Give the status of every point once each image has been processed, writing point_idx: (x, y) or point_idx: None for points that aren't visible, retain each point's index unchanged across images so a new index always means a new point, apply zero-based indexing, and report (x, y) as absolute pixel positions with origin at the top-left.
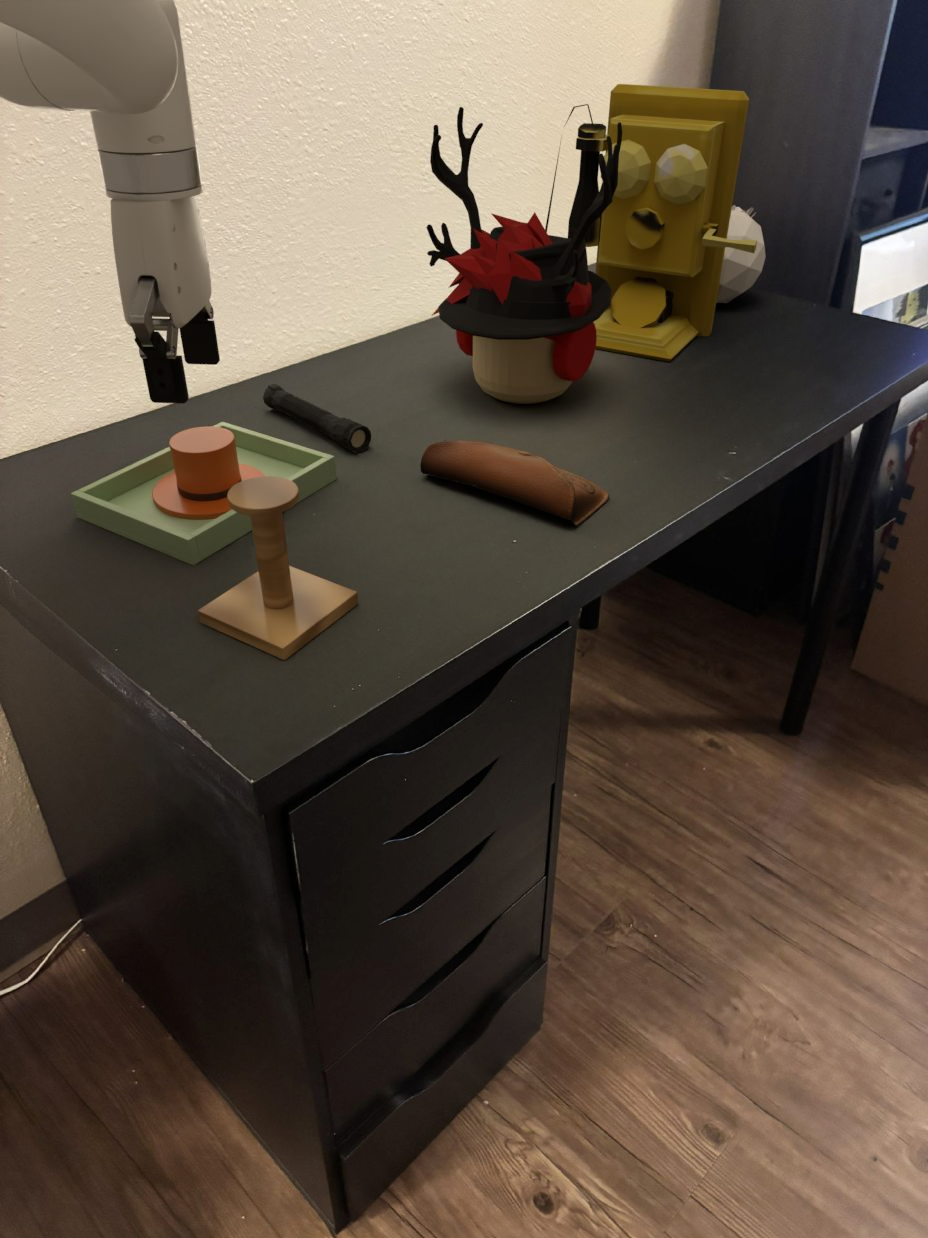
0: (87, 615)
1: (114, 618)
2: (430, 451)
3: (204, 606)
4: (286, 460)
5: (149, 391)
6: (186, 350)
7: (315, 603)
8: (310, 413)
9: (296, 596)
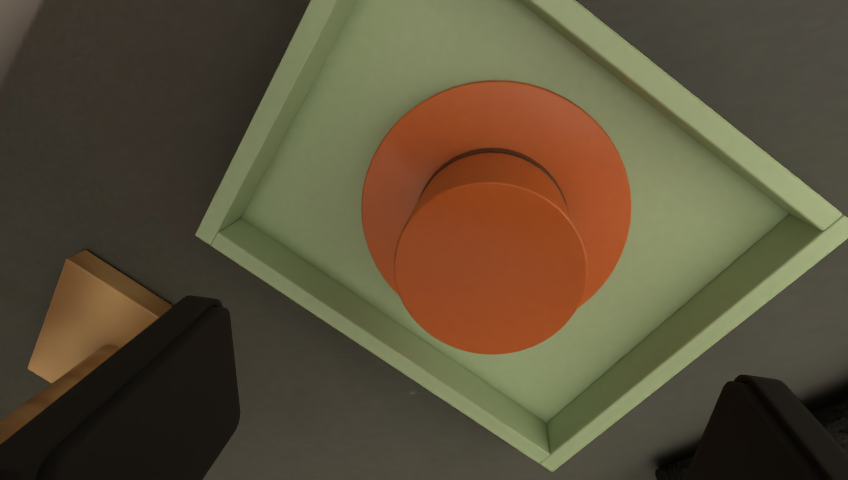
0: (53, 60)
1: (59, 112)
2: None
3: (78, 267)
4: (622, 361)
5: (164, 317)
6: (761, 442)
7: None
8: (844, 436)
9: None
